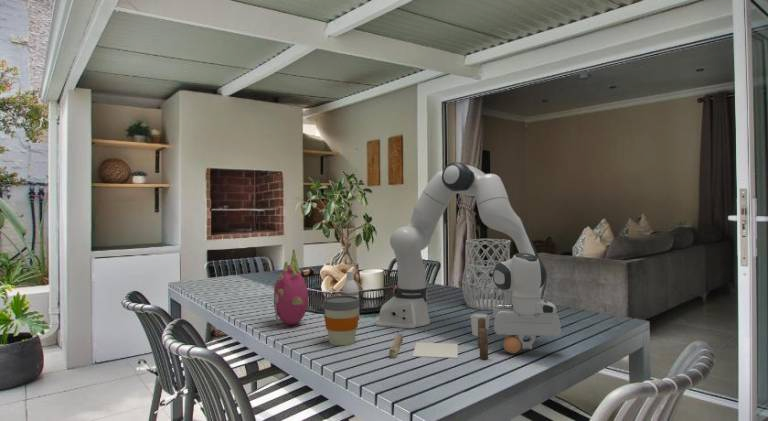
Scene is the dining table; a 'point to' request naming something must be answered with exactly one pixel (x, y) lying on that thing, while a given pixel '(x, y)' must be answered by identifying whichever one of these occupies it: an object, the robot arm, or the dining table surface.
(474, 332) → the shot glass
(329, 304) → the reusable coffee cup
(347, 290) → the bath foam
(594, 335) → the dining table surface
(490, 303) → the vase
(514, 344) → the ball
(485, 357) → the post
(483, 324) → the post
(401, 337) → the stopper rail
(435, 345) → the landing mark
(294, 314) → the pink dragon fruit
